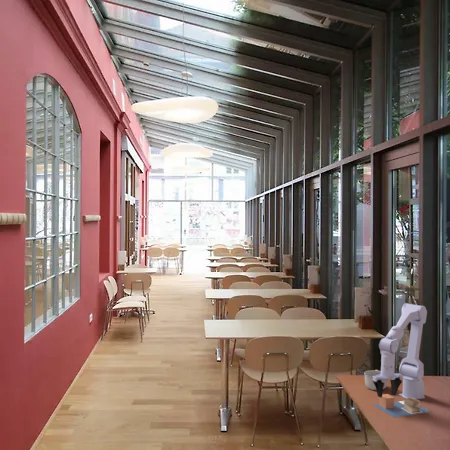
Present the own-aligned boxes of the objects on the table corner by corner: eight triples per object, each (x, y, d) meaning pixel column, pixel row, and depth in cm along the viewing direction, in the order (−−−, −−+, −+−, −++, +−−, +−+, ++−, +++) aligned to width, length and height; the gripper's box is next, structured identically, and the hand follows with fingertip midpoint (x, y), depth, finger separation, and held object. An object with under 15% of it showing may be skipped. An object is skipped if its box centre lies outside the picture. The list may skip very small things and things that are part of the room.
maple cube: (412, 407, 214) (412, 397, 214) (419, 411, 210) (420, 401, 210) (404, 408, 212) (404, 398, 212) (411, 412, 208) (411, 402, 208)
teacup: (383, 394, 231) (384, 378, 231) (361, 389, 237) (361, 373, 236) (390, 386, 243) (391, 370, 243) (368, 382, 248) (369, 366, 248)
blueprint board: (408, 401, 223) (408, 399, 223) (431, 413, 210) (431, 411, 210) (372, 406, 216) (372, 404, 216) (394, 418, 203) (394, 416, 203)
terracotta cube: (387, 403, 218) (387, 393, 218) (393, 407, 213) (394, 397, 213) (378, 404, 216) (379, 394, 216) (385, 408, 212) (386, 398, 212)
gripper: (380, 369, 208) (379, 400, 208) (407, 366, 213) (406, 397, 214) (370, 364, 215) (368, 395, 215) (396, 362, 220) (395, 391, 220)
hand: (386, 395), depth 215 cm, fingers open, 7 cm apart
